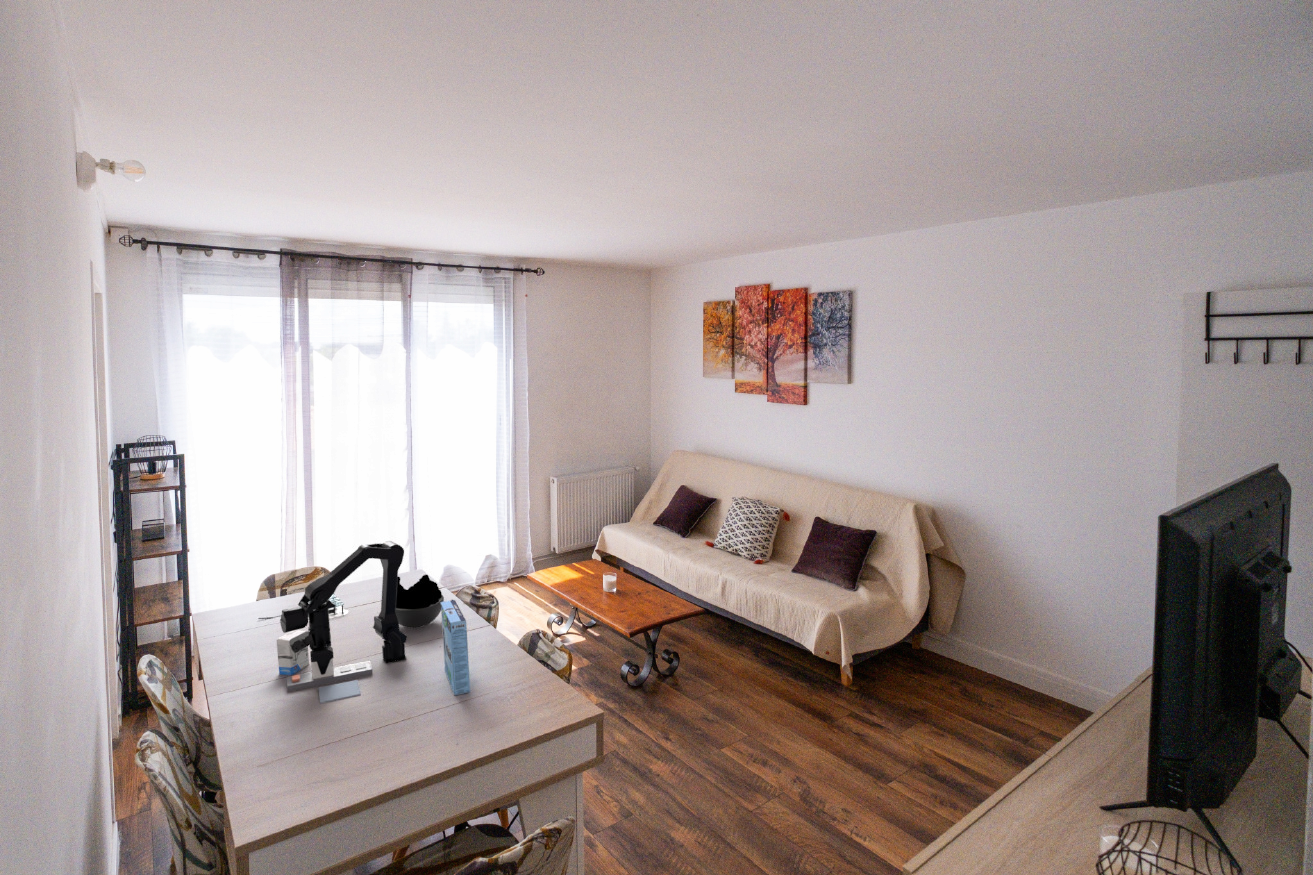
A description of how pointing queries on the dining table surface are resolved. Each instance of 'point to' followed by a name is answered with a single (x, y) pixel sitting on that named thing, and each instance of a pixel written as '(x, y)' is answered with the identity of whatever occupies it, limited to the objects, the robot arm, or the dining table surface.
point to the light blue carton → (455, 647)
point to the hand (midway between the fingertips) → (322, 671)
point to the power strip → (339, 675)
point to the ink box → (291, 654)
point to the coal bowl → (418, 603)
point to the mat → (339, 691)
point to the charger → (316, 670)
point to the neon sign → (330, 609)
